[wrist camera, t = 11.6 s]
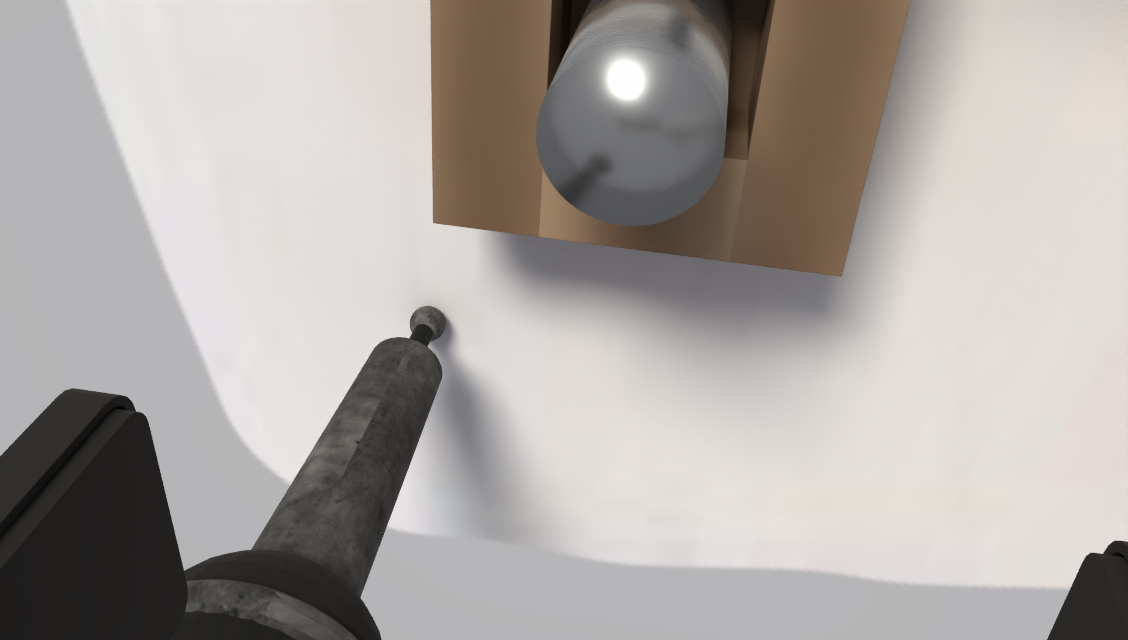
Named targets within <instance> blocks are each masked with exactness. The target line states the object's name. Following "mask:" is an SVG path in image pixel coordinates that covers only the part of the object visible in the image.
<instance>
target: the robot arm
mask: <svg viewBox="0 0 1128 640" xmlns="http://www.w3.org/2000/svg"><path fill="white" fill-rule="evenodd" d="M187 601H188V586H187V582H186V578H185V573H184V569H183V565H182V561H181V557H180V553H179V548H178V544H177V540H176V536H175V532H174V527H173V523H172V519H171V515H170V511H169V506H168V502H167V498H166V494H165V490H164V486H163V481H162V477H161V473H160V469H159V465H158V460H157V456H156V452H155V448H154V444H153V440H152V435H151V431H150V427H149V423H148V420H147V418H146V416H145V415H144V414H143V413H140V412H136V410H135V408H134V405H133V403H132V402H131V400H130V399H129V398H128V397H125V396H121V395H115V394H108V393H102V392H95V391H88V390H81V389H74V388H73V389H69V390H66V391H64V392H63V393H62V394H60V395H59V396H58V397H57V398H56V399H55V400H54V401H53V402H52V403H51V404H50V405H49V406H48V407H47V408H46V409H45V410H44V411H43V412H42V414H40V416H39V417H38V418H37V419H36V420H35V421H34V422H33V423H32V424H31V425H30V426H29V427H28V428H27V429H26V430H25V431H24V432H23V433H22V434H21V435H20V436H19V437H18V438H17V440H15V442H14V443H13V444H12V445H11V446H10V447H9V448H8V449H7V450H6V451H5V452H4V453H3V454H2V455H1V456H0V640H170V639H171V637H172V635H173V634H174V632H175V630H176V629H177V627H178V625H179V624H180V622H181V620H182V618H183V615H184V612H185V609H186V605H187ZM1047 640H1128V542H1125V541H1114V542H1112V543H1111V544H1110V545H1108V547H1107V549H1106V550H1105V552H1104V553H1103V554H1099V553H1090V554H1089V555H1087V556H1086V558H1085V559H1084V561H1083V563H1082V565H1081V567H1080V569H1079V571H1078V573H1077V576H1076V578H1075V580H1074V582H1073V584H1072V587H1071V589H1070V591H1069V593H1068V596H1067V597H1066V600H1065V602H1064V604H1063V606H1062V608H1061V611H1060V613H1059V615H1058V617H1057V619H1056V621H1055V624H1054V626H1053V628H1052V630H1051V632H1050V634H1049V637H1048V639H1047Z"/></svg>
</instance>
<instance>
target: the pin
mask: <svg viewBox="0 0 1128 640" xmlns="http://www.w3.org/2000/svg"><path fill="white" fill-rule="evenodd" d="M733 7H734V0H590V2H589V4H588V6H587V8H586V11H585V13H584V15H583V17H582V19H581V21H580V23H579V25H578V28H577V30H576V32H575V34H574V36H573V38H572V40H571V42H570V45H569V47H568V49H567V51H566V53H565V55H564V57H563V59H562V62H561V64H560V66H559V68H558V70H557V72H556V74H555V76H554V79H553V81H552V83H551V85H550V87H549V89H548V91H547V93H546V96H545V98H544V100H543V102H542V105H541V107H540V111H539V115H538V118H537V126H536V144H537V150H538V155H539V158H540V162H541V165H542V167H543V169H544V171H545V174H546V176H547V177H548V179H549V180H550V182H551V184H552V185H553V186H554V188H555V189H556V190H557V191H558V193H559V194H560V195H561V196H562V197H563V198H564V199H565V200H566V201H567V202H569V203H570V204H571V205H573V206H574V207H575V208H577V209H578V210H580V211H582V212H583V213H585V214H587V215H589V216H591V217H593V218H596V219H598V220H601V221H604V222H607V223H612V224H617V225H625V226H642V225H650V224H656V223H659V222H662V221H666V220H669V219H671V218H673V217H675V216H678V215H679V214H681V213H683V212H685V211H686V210H688V209H689V208H690V207H692V206H693V205H694V204H696V203H697V202H698V201H699V200H700V199H701V198H702V197H703V196H704V195H705V194H706V192H707V191H708V190H709V188H710V187H711V186H712V184H713V182H714V180H715V179H716V177H717V175H718V172H719V170H720V167H721V165H722V161H723V156H724V150H725V137H726V121H727V105H728V88H729V72H730V56H731V40H732V23H733Z"/></svg>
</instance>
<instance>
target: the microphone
mask: <svg viewBox="0 0 1128 640" xmlns="http://www.w3.org/2000/svg"><path fill="white" fill-rule="evenodd" d="M410 329H411V331H412V335H411V337H410V339H409V338H402V337H396V338H390V339H387V340H384V341H382V342H381V343H379V344H378V345H377V346H376V347H375V348H374V350H373V351H372V353H371V355H370V356H369V358H368V360H367V361H366V363H365V364H364V366H363V368H362V369H361V371H360V373H359V374H358V376H357V378H356V379H355V381H354V382H353V384H352V386H351V387H350V389H349V391H348V392H347V394H346V396H345V397H344V399H343V400H342V402H341V404H340V405H339V407H338V409H337V410H336V412H335V414H334V415H333V417H332V418H331V420H330V422H329V423H328V425H327V427H326V428H325V430H324V432H323V433H322V435H321V436H320V438H319V440H318V441H317V443H316V445H315V446H314V448H313V450H312V451H311V453H310V454H309V456H308V458H307V459H306V461H305V463H304V464H303V466H302V468H301V469H300V471H299V472H298V474H297V476H296V477H295V479H294V481H293V482H292V484H291V486H290V487H289V489H288V490H287V492H286V494H285V496H284V497H283V499H282V500H281V502H280V504H279V505H278V507H277V508H276V510H275V512H274V513H273V515H272V517H271V518H270V520H269V522H268V523H267V525H266V526H265V528H264V530H263V531H262V533H261V535H260V536H259V538H258V540H257V541H256V543H255V544H254V546H253V548H252V549H251V550H246V551H239V552H233V553H229V554H224V555H220V556H216V557H212V558H209V559H208V560H206V561H203V562H201V563H199V564H197V565H195V566H193V567H191V568H189V569H187V570H185V571H184V573H185V578H186V582H187V586H188V601H187V605H186V609H185V612H184V615H183V618H182V620H181V622H180V624H179V625H178V627H177V629H176V630H175V632H174V634H173V635H172V637H171V639H170V640H381V636H380V632H379V630H378V628H377V626H376V624H375V622H374V620H373V617H372V616H371V614H370V613H369V611H368V609H367V607H366V606H365V604H364V602H363V601H362V600H361V598H360V597H361V594H362V591H363V589H364V586H365V583H366V581H367V578H368V575H369V573H370V570H371V567H372V564H373V562H374V559H375V556H376V554H377V551H378V548H379V546H380V543H381V540H382V538H383V535H384V532H385V530H386V527H387V524H388V522H389V519H390V516H391V514H392V511H393V508H394V506H395V503H396V500H397V498H398V495H399V492H400V489H401V487H402V484H403V481H404V479H405V476H406V473H407V471H408V468H409V465H410V463H411V460H412V457H413V455H414V452H415V449H416V447H417V444H418V441H419V438H420V436H421V433H422V430H423V428H424V425H425V422H426V420H427V417H428V414H429V412H430V409H431V406H432V404H433V401H434V398H435V396H436V393H437V390H438V388H439V385H440V382H441V379H442V367H441V364H440V362H439V360H438V358H437V357H436V355H435V354H434V353H433V352H432V351H431V350H430V349H429V348H428V344H429V342H430V341H433V340H436V339H437V338H439V337H440V336H441V335H442V333H443V332H444V329H445V318H444V316H443V314H442V313H441V312H440V311H439V310H438V309H436V308H434V307H431V306H424V307H421V308H419V309H417V310H416V311H415V312H414V313H413V315H412V316H411V319H410Z"/></svg>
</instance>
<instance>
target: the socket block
mask: <svg viewBox="0 0 1128 640" xmlns="http://www.w3.org/2000/svg"><path fill="white" fill-rule="evenodd" d="M589 2H590V0H430V5H431V87H432V169H433V223H437V224H444V225H452V226H460V227H467V228H475V229H483V230H490V231H498V232H506V233H513V234H521V235H529V236H536V237H544V238H551V239H559V240H567V241H574V242H582V243H590V244H597V245H605V246H613V247H620V248H628V249H636V250H643V251H651V252H658V253H666V254H674V255H681V256H689V257H697V258H704V259H712V260H720V261H727V262H735V263H742V264H750V265H758V266H765V267H773V268H781V269H788V270H796V271H804V272H811V273H819V274H827V275H834V276H842V273H843V269H844V265H845V261H846V257H847V253H848V249H849V244H850V240H851V236H852V232H853V228H854V224H855V220H856V216H857V212H858V208H859V204H860V200H861V196H862V192H863V188H864V184H865V180H866V176H867V172H868V168H869V164H870V160H871V156H872V152H873V148H874V144H875V140H876V136H877V132H878V128H879V124H880V120H881V116H882V112H883V108H884V104H885V100H886V96H887V92H888V88H889V84H890V80H891V76H892V72H893V68H894V64H895V60H896V55H897V51H898V47H899V43H900V39H901V35H902V31H903V27H904V23H905V19H906V15H907V11H908V7H909V3H910V0H734V7H733V23H732V40H731V56H730V72H729V88H728V105H727V121H726V137H725V150H724V156H723V161H722V165H721V167H720V170H719V172H718V175H717V177H716V179H715V180H714V182H713V184H712V186H711V187H710V188H709V190H708V191H707V192H706V194H705V195H704V196H703V197H702V198H701V199H700V200H699V201H698V202H697V203H696V204H694V205H693V206H692V207H690V208H689V209H688V210H686V211H685V212H683V213H681V214H679V215H678V216H675V217H673V218H671V219H669V220H666V221H662V222H659V223H656V224H650V225H642V226H625V225H617V224H612V223H607V222H604V221H601V220H598V219H596V218H593V217H591V216H589V215H587V214H585V213H583V212H582V211H580V210H578V209H577V208H575V207H574V206H573V205H571V204H570V203H569V202H567V201H566V200H565V199H564V198H563V197H562V196H561V195H560V194H559V193H558V191H557V190H556V189H555V188H554V186H553V185H552V184H551V182H550V180H549V179H548V177H547V176H546V174H545V171H544V169H543V167H542V165H541V162H540V158H539V155H538V150H537V144H536V126H537V118H538V115H539V111H540V107H541V105H542V102H543V100H544V98H545V96H546V93H547V91H548V89H549V87H550V85H551V83H552V81H553V79H554V76H555V74H556V72H557V70H558V68H559V66H560V64H561V62H562V59H563V57H564V55H565V53H566V51H567V49H568V47H569V45H570V42H571V40H572V38H573V36H574V34H575V32H576V30H577V28H578V25H579V23H580V21H581V19H582V17H583V15H584V13H585V11H586V8H587V6H588V4H589Z"/></svg>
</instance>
